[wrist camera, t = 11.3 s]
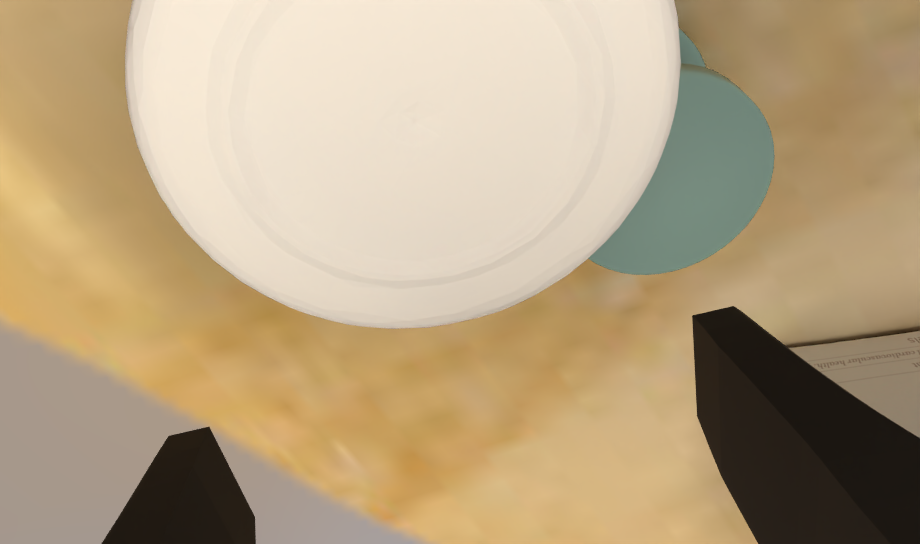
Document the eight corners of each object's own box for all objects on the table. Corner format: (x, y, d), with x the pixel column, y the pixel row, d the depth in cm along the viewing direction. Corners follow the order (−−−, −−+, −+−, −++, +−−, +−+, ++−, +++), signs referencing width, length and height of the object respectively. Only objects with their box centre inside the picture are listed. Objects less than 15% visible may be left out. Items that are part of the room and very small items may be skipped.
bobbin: (693, -17, 20) (774, 50, 17) (702, 155, 23) (774, 246, 19) (502, 31, 20) (539, 108, 17) (533, 197, 23) (571, 295, 19)
